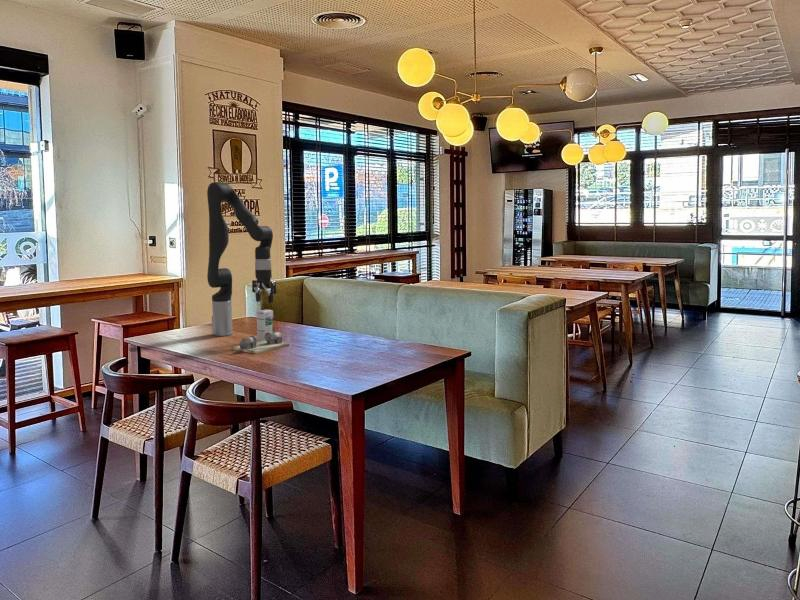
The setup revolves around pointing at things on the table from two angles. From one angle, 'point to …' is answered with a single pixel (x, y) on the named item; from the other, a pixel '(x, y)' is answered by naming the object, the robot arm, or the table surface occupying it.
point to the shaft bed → (261, 344)
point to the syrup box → (264, 323)
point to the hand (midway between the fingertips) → (264, 302)
